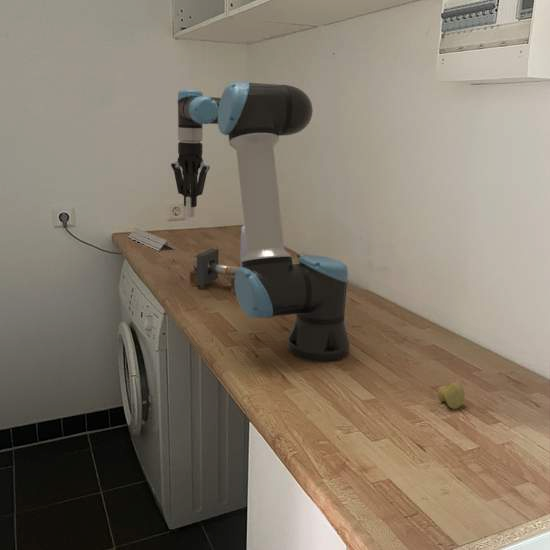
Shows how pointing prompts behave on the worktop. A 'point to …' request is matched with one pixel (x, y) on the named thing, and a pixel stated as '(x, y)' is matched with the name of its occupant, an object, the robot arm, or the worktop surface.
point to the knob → (452, 395)
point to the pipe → (220, 268)
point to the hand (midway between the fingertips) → (190, 216)
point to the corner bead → (156, 239)
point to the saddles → (194, 284)
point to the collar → (206, 266)
